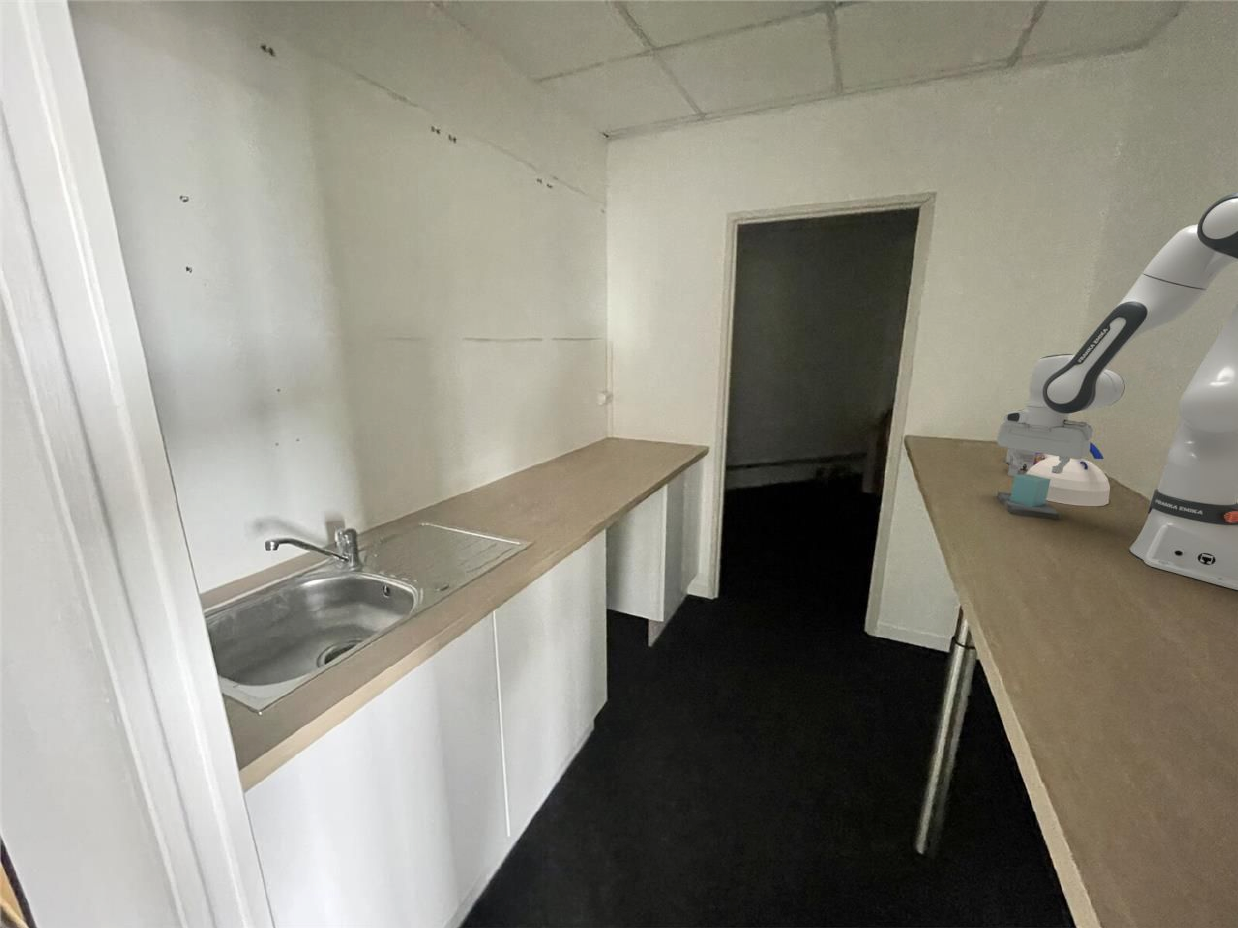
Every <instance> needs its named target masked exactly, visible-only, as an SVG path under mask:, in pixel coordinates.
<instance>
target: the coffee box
mask: <svg viewBox="0 0 1238 928" xmlns="http://www.w3.org/2000/svg"><path fill="white" fill-rule="evenodd" d="M1018 454H1019V456H1020V459H1023V462H1022V463H1023V464H1022V466H1016V465H1013V460H1014V459H1013V457H1012V455H1011V458H1010V463H1009V464H1008V468H1007V469H1008V471H1007V476H1010V477H1015V476H1018V475H1024V474H1026V473H1027V472H1028V470H1029V469H1030V468H1031V467H1032V466H1033V465H1034V461H1035V456H1036V452H1030V451H1025V450H1021V451H1020V452H1018Z"/></svg>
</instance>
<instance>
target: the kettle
mask: <svg viewBox="0 0 1238 928" xmlns="http://www.w3.org/2000/svg"><path fill="white" fill-rule="evenodd" d="M1089 453H1090V454H1091V456H1092V457H1093V459H1094V460H1104V458H1105V457H1104V456H1103V454H1102V453H1101V452H1100V450H1099V448H1098V447H1097V446H1096V445H1095V444H1093V443H1092V442H1091V441H1090V452H1089ZM1044 456H1045V460H1042V461H1040V462H1038V463H1037V464H1035V465H1034V466H1032V467H1031V468H1030V469H1029V470H1028V472H1027V473H1026V474H1031V475H1035V476H1039V477H1043V478H1047V479H1051V480H1050V484H1049V489H1048V493H1047V497H1046V502H1053V503H1056V504H1057V503H1058V504H1063V505H1070V506H1078V507H1102V506H1103V507H1104V506H1106V505H1108V504H1109V501H1110V500H1109V498H1110V492H1111V491H1110V490H1111V486H1110V483H1109V482H1110V481H1109V479H1108V477H1107V476H1106V475H1105V474H1106V473H1104V472H1103V471H1102V470H1101V469H1100V468H1099V467H1098V466H1097V465H1096V464H1094V462H1091V461H1089V460H1086V459H1085V458H1084V459H1071V458H1070V461H1069V462H1068V463H1067V464H1066V465H1065V466H1064V467H1063V470H1062V473H1061V474H1057V473H1052V470H1053V469H1052V467H1053V466H1057V465H1058V464H1059V463H1060V462H1061V461H1059V456H1054V455H1048V454H1044Z"/></svg>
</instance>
